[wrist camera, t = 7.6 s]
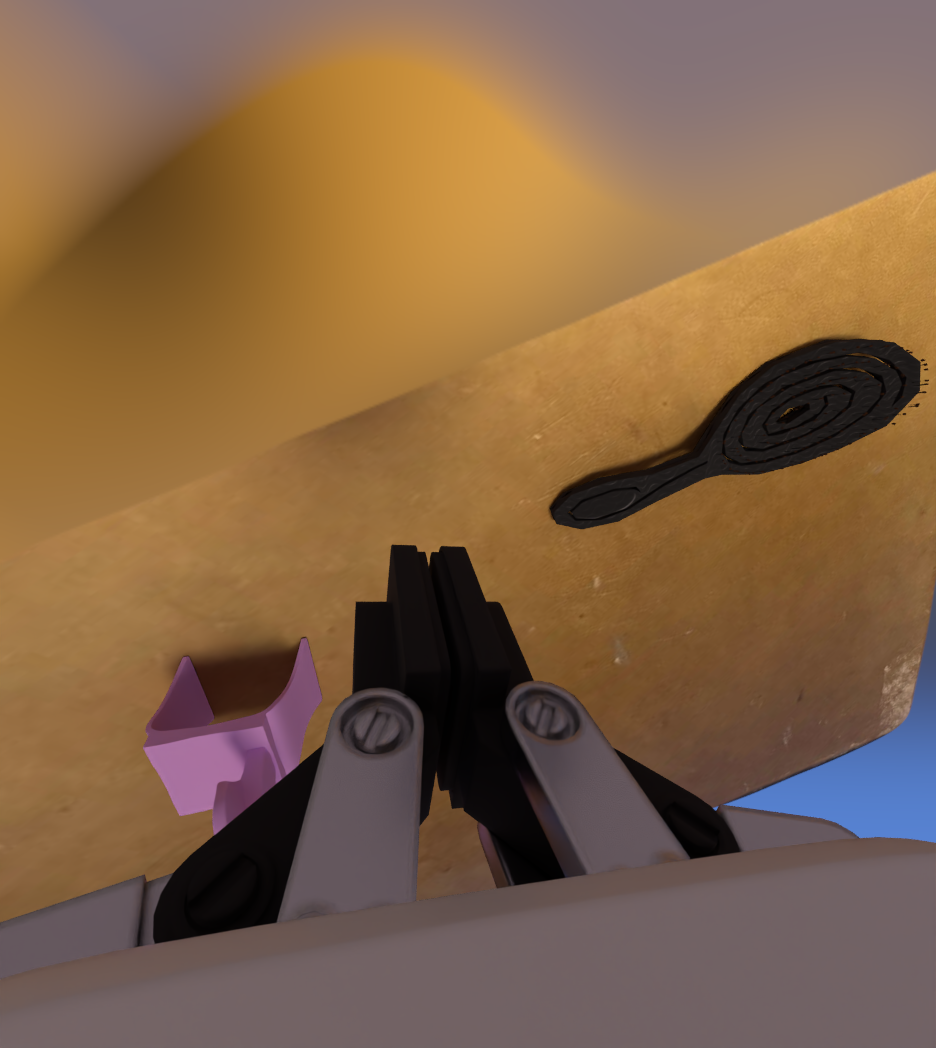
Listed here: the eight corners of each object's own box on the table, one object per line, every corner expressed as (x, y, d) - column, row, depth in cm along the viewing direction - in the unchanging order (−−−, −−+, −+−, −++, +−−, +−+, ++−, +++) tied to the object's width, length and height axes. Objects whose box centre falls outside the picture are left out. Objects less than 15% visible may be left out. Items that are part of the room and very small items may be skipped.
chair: (170, 646, 32) (35, 899, 19) (303, 626, 33) (264, 848, 20) (206, 729, 36) (115, 987, 23) (324, 708, 37) (303, 939, 24)
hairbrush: (547, 479, 29) (945, 314, 27) (531, 458, 32) (887, 309, 30) (579, 579, 33) (927, 439, 31) (562, 551, 36) (877, 424, 35)
